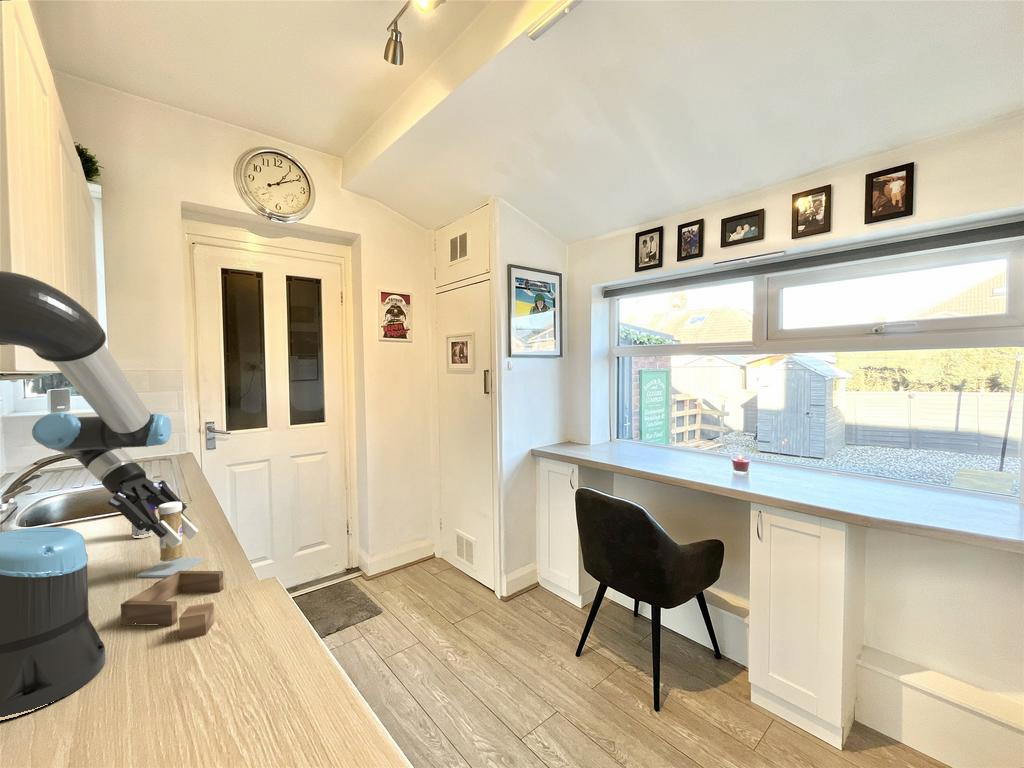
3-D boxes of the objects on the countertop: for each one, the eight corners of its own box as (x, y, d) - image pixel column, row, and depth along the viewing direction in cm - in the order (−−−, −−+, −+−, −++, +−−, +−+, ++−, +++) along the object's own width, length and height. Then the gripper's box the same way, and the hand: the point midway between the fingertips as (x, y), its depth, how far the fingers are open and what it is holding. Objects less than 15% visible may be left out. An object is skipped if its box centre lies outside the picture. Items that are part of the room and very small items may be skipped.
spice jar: (182, 559, 102) (181, 504, 102) (158, 564, 100) (156, 507, 99) (184, 552, 106) (182, 499, 106) (161, 557, 103) (159, 502, 103)
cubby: (172, 625, 79) (171, 604, 79) (121, 624, 80) (120, 604, 80) (223, 588, 93) (223, 571, 93) (179, 588, 93) (179, 570, 93)
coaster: (174, 577, 98) (174, 575, 98) (137, 577, 98) (137, 574, 98) (203, 560, 107) (203, 558, 107) (169, 560, 107) (169, 557, 107)
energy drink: (159, 534, 125) (157, 494, 124) (135, 541, 120) (134, 499, 120) (152, 531, 127) (150, 492, 127) (129, 537, 123) (127, 496, 123)
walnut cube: (205, 635, 76) (205, 613, 76) (179, 639, 75) (179, 617, 75) (214, 622, 80) (213, 602, 80) (189, 626, 79) (188, 605, 79)
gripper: (141, 474, 112) (203, 536, 111) (69, 493, 94) (143, 566, 94) (159, 454, 111) (222, 516, 111) (91, 469, 94) (165, 543, 94)
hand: (185, 539), depth 103 cm, fingers closed on spice jar, 4 cm apart
